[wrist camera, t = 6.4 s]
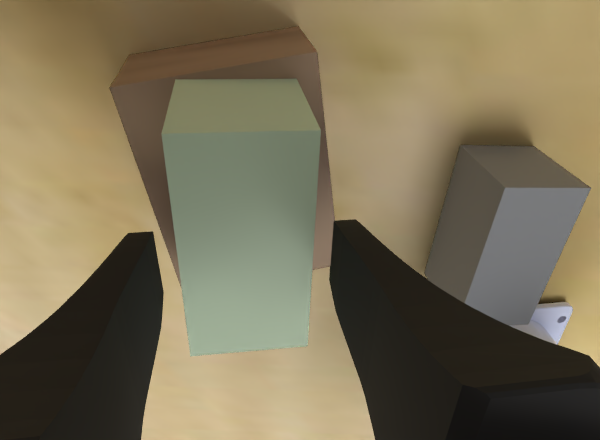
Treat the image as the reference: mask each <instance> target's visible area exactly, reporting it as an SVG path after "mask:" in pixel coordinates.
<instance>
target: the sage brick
mask: <svg viewBox="0 0 600 440" xmlns="http://www.w3.org/2000/svg"><path fill="white" fill-rule="evenodd" d="M161 134H162V142H163V150H164V157H165V165H166V173H167V180H168V188H169V195H170V203H171V211H172V218H173V226H174V234H175V241H176V249H177V256H178V264H179V272H180V279H181V287H182V295H183V302H184V310H185V318H186V325H187V333H188V340H189V348H190V356H200V355H211V354H223V353H234V352H246V351H258V350H269V349H281V348H292V347H304V346H308V330H309V314H310V298H311V282H312V266H313V250H314V234H315V218H316V201H317V185H318V169H319V153H320V137H321V129H320V127H319V125H318V123H317V121H316V119H315V117H314V114H313V112H312V110H311V108H310V106H309V104H308V102H307V99H306V97H305V95H304V93H303V91H302V89H301V87H300V85H299V82H298V80H297V79H175V83H174V87H173V91H172V95H171V99H170V102H169V106H168V110H167V114H166V118H165V122H164V126H163V130H162V133H161Z"/></svg>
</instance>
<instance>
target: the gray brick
mask: <svg viewBox="0 0 600 440" xmlns="http://www.w3.org/2000/svg"><path fill="white" fill-rule="evenodd" d="M590 189H591V188H590V187H589V186H588V185H586V184H585V183H584V182H582V181H581V180H579V179H578V178H577V177H575V176H574V175H573V174H571V173H570V172H568V171H567V170H566V169H564V168H563V167H562V166H560V165H559V164H558V163H556V162H555V161H553V160H552V159H551V158H549V157H548V156H547V155H545V154H544V153H543V152H541V151H540V150H538V149H537V148H536V147H534V146H493V145H460V147H459V151H458V154H457V158H456V161H455V165H454V169H453V172H452V176H451V179H450V183H449V186H448V190H447V194H446V197H445V201H444V204H443V208H442V211H441V215H440V219H439V222H438V226H437V229H436V233H435V237H434V240H433V244H432V247H431V251H430V254H429V258H428V262H427V265H426V269H425V272H424V273H425V275H426V277H427V278H428V280H429V281H430V282H431V283H433V284H434V285H436V286H437V287H439V288H440V289H442V290H444V291H445V292H447V293H448V294H450V295H452V296H453V297H455V298H457V299H458V300H460V301H462V302H463V303H465V304H467V305H469V306H470V307H472V308H474V309H476V310H478V311H480V312H482V313H484V314H486V315H488V316H490V317H492V318H494V319H496V320H498V321H500V322H502V323H504V324H507V325H528V324H529V322H530V320H531V318H532V315H533V313H534V311H535V309H536V307H537V304H538V302H539V300H540V298H541V296H542V294H543V291H544V289H545V287H546V285H547V283H548V281H549V278H550V276H551V274H552V272H553V270H554V267H555V265H556V263H557V261H558V259H559V257H560V254H561V252H562V250H563V248H564V246H565V244H566V241H567V239H568V237H569V235H570V233H571V230H572V228H573V226H574V224H575V222H576V220H577V217H578V215H579V213H580V211H581V209H582V207H583V204H584V202H585V200H586V198H587V196H588V194H589V191H590Z"/></svg>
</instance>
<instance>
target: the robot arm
mask: <svg viewBox="0 0 600 440" xmlns="http://www.w3.org/2000/svg"><path fill="white" fill-rule="evenodd" d="M329 281H330V286H331V291H332V296H333V300H334V305H335V309H336V313H337V316H338V319H339V322H340V325H341V328H342V330H343V333H344V336H345V339H346V342H347V345H348V347H349V350H350V353H351V356H352V359H353V361H354V364H355V367H356V370H357V373H358V375H359V378H360V381H361V384H362V388H363V391H364V394H365V398H366V402H367V406H368V410H369V415H370V419H371V423H372V427H373V431H374V436H375V440H600V368H599V366H598V365H597V364H596V363H595V362H594V361H593V360H592V359H591V357H590V356H588V355H585V354H582V353H580V352H577V351H574V350H571V349H568V348H565V347H562V346H559V345H558V342H559V340H560V338H561V336H562V334H563V331H564V329H565V327H566V325H567V322H568V320H569V318H570V316H571V314H572V311H573V308H572V306H571V305H570V304H569V303H567V302H557V303H546V304H537V307H536V309H535V311H534V313H533V315H532V318H531V320H530V322H529V324H528V325H507V324H504V323H502V322H500V321H498V320H496V319H494V318H492V317H490V316H488V315H486V314H484V313H482V312H480V311H478V310H476V309H474V308H472V307H470V306H469V305H467V304H465V303H463V302H462V301H460V300H458V299H457V298H455V297H453V296H452V295H450V294H448V293H447V292H445V291H444V290H442V289H440V288H439V287H437V286H436V285H434V284H433V283H431V282H430V281H429V280H427V279H426V278H424V277H423V276H422V275H420V274H419V273H418V272H416V271H415V270H414V269H412V268H411V267H410V266H408V265H407V264H406V263H405V262H403V261H402V260H401V259H400V258H399V257H397V256H396V255H395V254H394V253H393V252H391V251H390V250H389V249H388V248H387V247H386V246H385V245H383V244H382V243H381V242H380V241H379V240H378V239H377V238H376V237H375V236H373V235H372V234H371V233H370V232H369V231H368V230H367V229H366V228H365V227H364V226H363V225H361V224H360V223H359V222H358V221H357V220H340V221H334V223H333V237H332V251H331V264H330V278H329ZM163 293H164V292H163V287H162V281H161V275H160V269H159V264H158V258H157V252H156V247H155V241H154V235H153V232H138V233H128V234H127V235H126V236H125V237H124V238H123V239H122V241H121V242H120V243H119V244H118V245H117V246H116V248H115V249H114V250H113V251H112V252H111V254H110V255H109V256H108V257H107V258H106V259H105V261H104V262H103V263H102V264H101V265H100V266H99V268H98V269H97V270H96V271H95V272H94V273H93V274H92V275H91V276H90V277H89V279H88V280H87V281H86V282H85V283H84V284H83V285H82V286H81V287H80V288H79V289H78V290H77V291H76V292H75V293H74V294H73V295H72V296H71V297H70V298H69V299H68V300H67V301H66V302H65V303H64V304H63V305H62V306H61V307H60V308H59V309H58V310H57V311H56V312H55V313H53V314H52V315H51V316H50V317H49V318H48V319H47V320H45V321H44V322H43V323H42V324H40V325H39V326H38V327H37V328H36V329H34V330H33V331H32V332H31V333H29V334H28V335H27V336H26V337H24V338H23V339H22V340H20V341H19V342H17V343H16V344H15V345H13V346H12V347H10V348H9V349H8V350H6V351H5V352H3V353H2V354H1V355H0V440H141V434H142V424H143V416H144V410H145V404H146V399H147V394H148V389H149V384H150V379H151V374H152V370H153V365H154V360H155V355H156V350H157V345H158V340H159V335H160V330H161V322H162V309H163Z"/></svg>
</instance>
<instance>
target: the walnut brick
mask: <svg viewBox="0 0 600 440" xmlns="http://www.w3.org/2000/svg"><path fill="white" fill-rule="evenodd" d="M175 79H297V80H298V82H299V85H300V87H301V89H302V91H303V93H304V95H305V97H306V99H307V102H308V104H309V106H310V108H311V110H312V112H313V114H314V117H315V119H316V121H317V123H318V125H319V127H320V129H321V137H320V153H319V169H318V185H317V201H316V218H315V234H314V250H313V266H312V270H314V269H319V268H324V267H329V266H330V264H331V251H332V237H333V223H334V221H335V217H334V207H333V198H332V188H331V179H330V169H329V160H328V150H327V141H326V131H325V122H324V112H323V103H322V94H321V84H320V75H319V65H318V56H317V51H316V49H315V48H314V47H313V45H312V44H311V43H310V41H309V40H308V39H307V37H306V36H305V34H304V33H303V32H302V30H301V29H300V28H299V26H298V27H292V28H286V29H280V30H274V31H268V32H262V33H256V34H250V35H244V36H238V37H232V38H226V39H220V40H214V41H208V42H202V43H197V44H191V45H185V46H179V47H173V48H167V49H161V50H155V51H149V52H143V53H137V54H131V55H129V56H128V58H127V59H126V61H125V63H124V64H123V66H122V68H121V69H120V71H119V73H118V74H117V76H116V78H115V79H114V81H113V82H112V84H111V86H110V87H109V88H110V90H111V93H112V96H113V99H114V102H115V104H116V107H117V110H118V113H119V116H120V118H121V121H122V124H123V127H124V130H125V132H126V135H127V138H128V141H129V143H130V146H131V149H132V152H133V155H134V157H135V160H136V163H137V166H138V169H139V171H140V174H141V177H142V180H143V182H144V185H145V188H146V191H147V194H148V196H149V199H150V202H151V205H152V208H153V210H154V213H155V216H156V219H157V221H158V224H159V227H160V230H161V233H162V235H163V238H164V241H165V244H166V247H167V249H168V252H169V255H170V258H171V261H172V263H173V266H174V269H175V272H176V274H177V277H178V280H179V283H180V286H181V279H180V272H179V264H178V256H177V249H176V241H175V234H174V226H173V218H172V211H171V203H170V195H169V188H168V180H167V173H166V165H165V157H164V150H163V142H162V134H161V133H162V130H163V126H164V122H165V118H166V114H167V110H168V106H169V102H170V99H171V95H172V91H173V87H174V83H175ZM181 288H182V287H181Z"/></svg>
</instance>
